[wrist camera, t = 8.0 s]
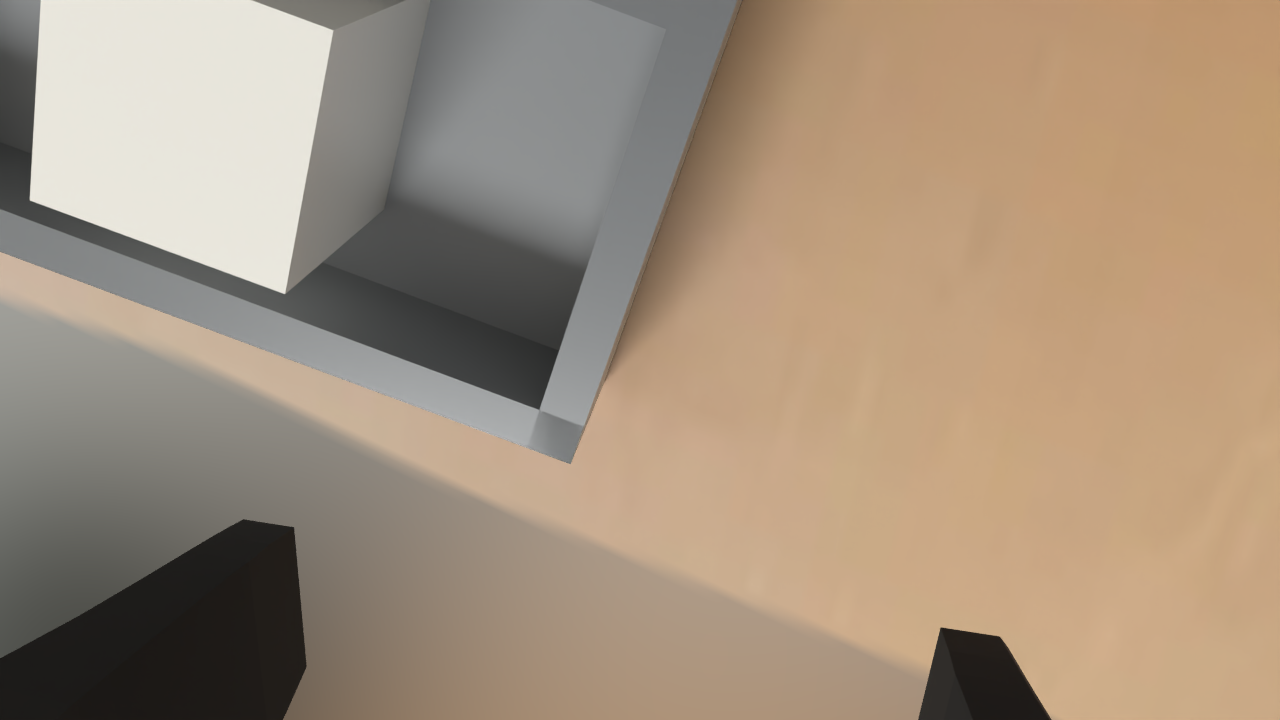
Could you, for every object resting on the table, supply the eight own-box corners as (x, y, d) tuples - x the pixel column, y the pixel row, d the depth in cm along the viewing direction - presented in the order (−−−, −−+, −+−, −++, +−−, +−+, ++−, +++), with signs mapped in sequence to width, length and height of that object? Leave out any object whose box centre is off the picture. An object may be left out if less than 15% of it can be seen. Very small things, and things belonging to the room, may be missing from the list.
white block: (433, -11, 18) (333, 30, 14) (384, 209, 20) (284, 294, 16) (202, -96, 18) (45, -77, 14) (175, 132, 20) (29, 200, 16)
